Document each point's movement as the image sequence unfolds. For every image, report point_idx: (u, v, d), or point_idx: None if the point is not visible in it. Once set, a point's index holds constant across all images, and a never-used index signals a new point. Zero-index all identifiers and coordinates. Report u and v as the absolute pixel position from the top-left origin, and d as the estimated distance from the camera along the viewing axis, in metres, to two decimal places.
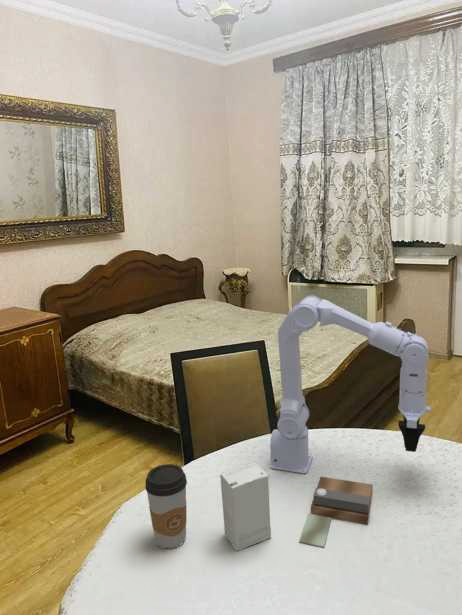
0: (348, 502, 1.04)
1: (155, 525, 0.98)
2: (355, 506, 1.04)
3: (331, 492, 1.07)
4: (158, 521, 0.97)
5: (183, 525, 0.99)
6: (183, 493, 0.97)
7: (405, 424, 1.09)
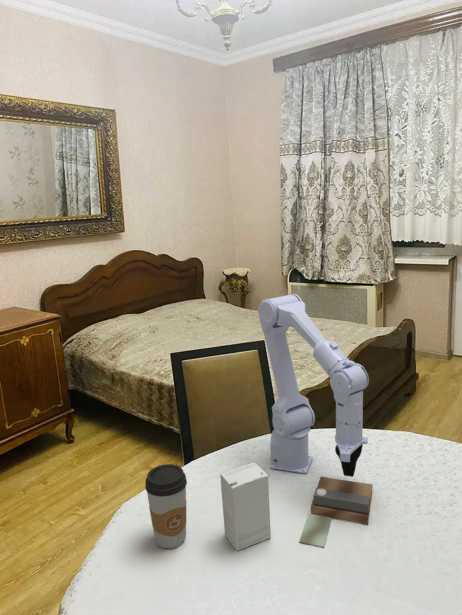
0: (348, 502, 1.04)
1: (155, 525, 0.98)
2: (355, 506, 1.04)
3: (331, 492, 1.07)
4: (158, 521, 0.97)
5: (183, 525, 0.99)
6: (183, 493, 0.97)
7: None
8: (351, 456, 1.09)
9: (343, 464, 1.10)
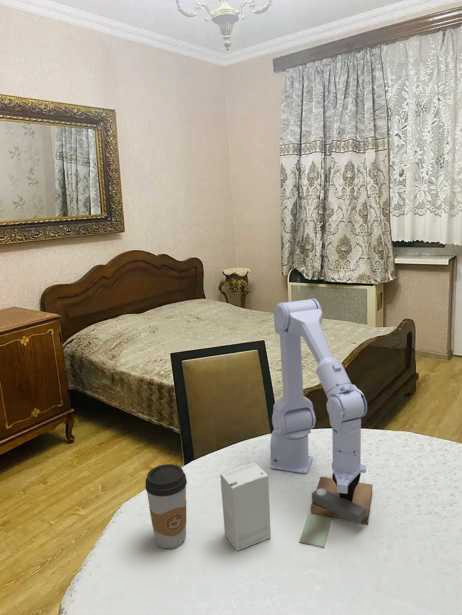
0: (341, 508, 1.02)
1: (155, 525, 0.98)
2: (346, 513, 1.01)
3: (331, 495, 1.06)
4: (158, 521, 0.97)
5: (183, 525, 0.99)
6: (183, 493, 0.97)
7: None
8: None
9: None
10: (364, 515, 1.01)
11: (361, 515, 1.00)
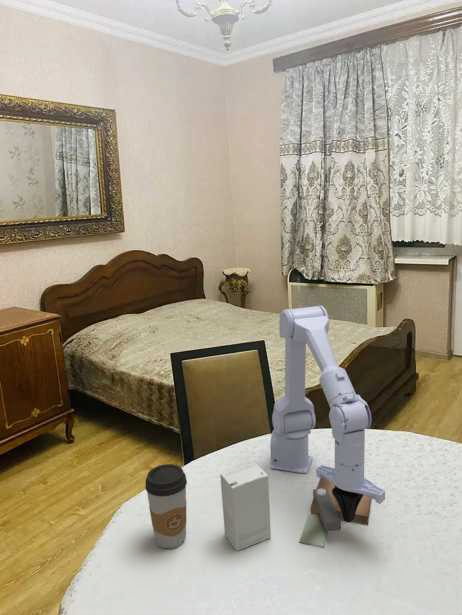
0: (321, 511, 1.01)
1: (155, 525, 0.98)
2: (323, 518, 1.00)
3: (327, 498, 1.05)
4: (158, 521, 0.97)
5: (183, 525, 0.99)
6: (183, 493, 0.97)
7: (354, 495, 0.96)
8: None
9: None
10: (338, 527, 0.98)
11: (332, 525, 0.98)
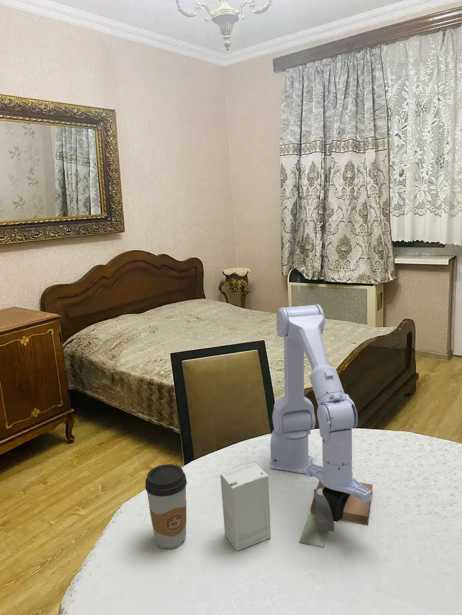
0: (317, 511, 1.02)
1: (155, 525, 0.98)
2: (317, 518, 1.00)
3: None
4: (158, 521, 0.97)
5: (183, 525, 0.99)
6: (183, 493, 0.97)
7: (340, 493, 0.97)
8: None
9: (336, 509, 0.98)
10: (331, 528, 0.98)
11: (325, 525, 0.98)
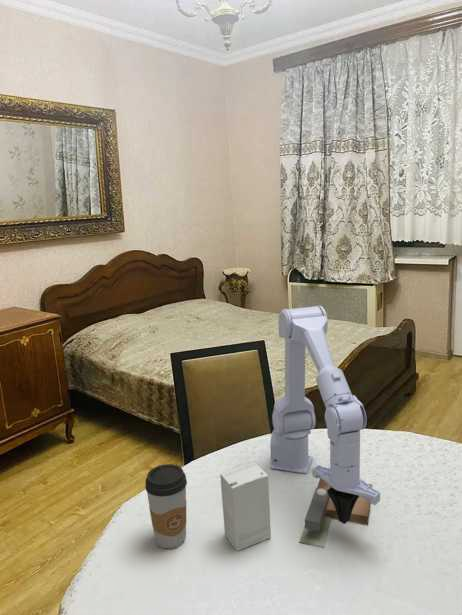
0: None
1: (155, 525, 0.98)
2: None
3: (323, 499, 1.05)
4: (158, 521, 0.97)
5: (183, 525, 0.99)
6: (183, 493, 0.97)
7: (349, 495, 0.96)
8: None
9: None
10: (316, 527, 0.98)
11: (310, 523, 0.98)
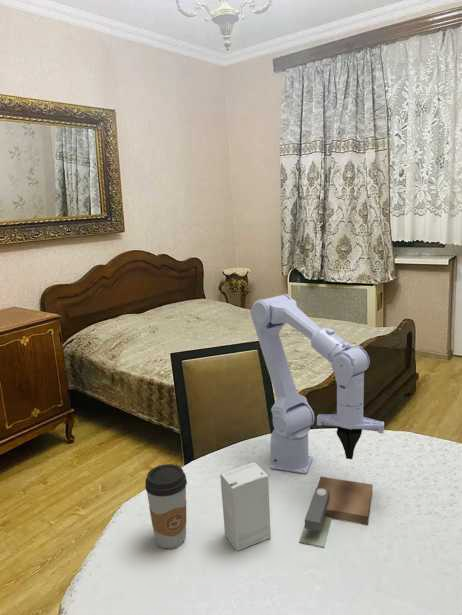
0: None
1: (155, 525, 0.98)
2: None
3: (323, 499, 1.05)
4: (158, 521, 0.97)
5: (183, 525, 0.99)
6: (183, 493, 0.97)
7: (358, 431, 1.08)
8: None
9: None
10: (316, 527, 0.98)
11: (310, 523, 0.98)
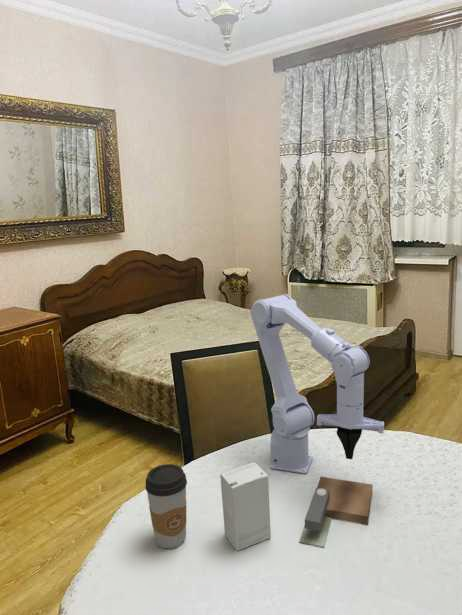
0: None
1: (155, 525, 0.98)
2: None
3: (323, 499, 1.05)
4: (158, 521, 0.97)
5: (183, 525, 0.99)
6: (183, 493, 0.97)
7: (358, 431, 1.08)
8: None
9: None
10: (316, 527, 0.98)
11: (310, 523, 0.98)
